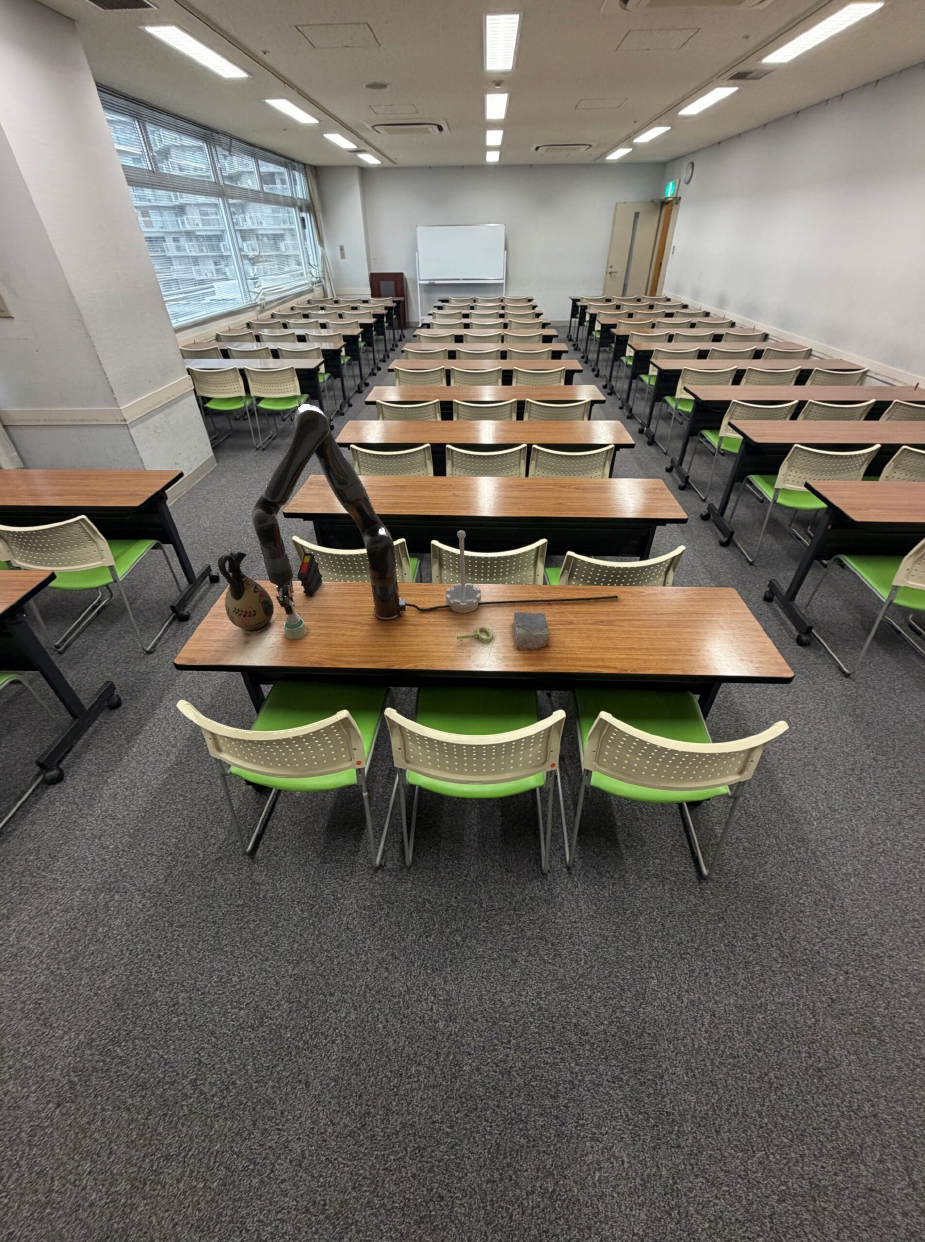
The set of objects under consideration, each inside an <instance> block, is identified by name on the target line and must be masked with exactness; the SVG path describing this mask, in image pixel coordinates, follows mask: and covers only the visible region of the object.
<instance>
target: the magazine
mask: <svg viewBox="0 0 925 1242" xmlns="http://www.w3.org/2000/svg"><path fill="white" fill-rule="evenodd" d="M315 556H316V555H315V554H314V553H311V552H304V553H303V556H302V559H301V563H300V566H299V569H298V571H297V579H296V580H298V581H300V582H301V583H300V586H301V587H303V591H302V593H303V594H304V595H305V596H306V597H314V595H316V592H317V591H318V589H319V588H320V586H321V585H322V583H323V580H322V579H323V574H322V573H321V572H320V568H319V565H320V564H319V562H317V560H316V559H315V558H316V557H315Z"/></svg>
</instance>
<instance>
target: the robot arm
mask: <svg viewBox="0 0 925 1242" xmlns="http://www.w3.org/2000/svg"><path fill="white" fill-rule="evenodd" d="M293 424H294V427H295V430H294V434H293V437H292V440H291V443H290V445H289V447H288V449H287V450H286V453H285V455H284V457H283V458H282V459H281V460H280V462H279V463H278V464H277V466H276V468H275V469H274V470H273V472H272V474H271V476H270V478H269V480H268V482H267V483H266V486H265V488H264V491H263V493H262V494H261V495H260V497H258V499H257V501H256V503H255V504H254V506H253V508H252V511H251V520H252V526H253V529H254V532H255V535H256V536H257V540H258V541H259V547H260V550H261V554H262V557H263V562H264V566H265V570H266V574H267V577H268V581H269V582H270V583H271V584H272V585H276V587H275V588H276V591H277V593H278V595H276V596H275V599H276V600H277V602H278V604H279V606H280V608H283V609H284V612H285V615H286V616H287V615H290V614H293V610H292V607H291V603H290V600H291V601H292V602H293V603H294V605H293V606H294V608H296V607H295V606H296V605H295V604H296V603H295V601H294V594H295V593H294V586H293V578H294V573H293V569H292V566H291V562H290V558H289V555H288V553H287V549H286V547H285V542H284V540H283V537H282V533H281V530H280V529H281V528H280V525H279V519H278V517H277V516H278V514H279V512H280V510H281V509H282V507H283V506H285V505H286V504H287V503H288V501H289V500H290V498H291V496H292V494H293V492H294V490H295V488H296V486H297V484H298V482H299V480H300V478H301V476H302V473H303V472H304V470H305V468H306V466H307V465H308V463H309V461H310V460H311V459H312V457H313V455H315V457H316V459H317V462H318V463H319V466H320V468H321V470H322V473H323V475H324V478H325V479H326V481H327V484H328V485H329V487H330V489H331V491H332V493H333V494H334V496H335V499H337V501H338V502H339V504H340V505H341V507H342V508H343V509H344V511H346V513H348V515H349V516H350V517H351V518H352V519H353V521H354V522H355V524H356V526H357V528H358V530H359V532H360V535H361V537H362V540H363V543H364V547H365V550H366V556H367V564H368V573H369V580H370V586H371V593H372V600H373V605H374V607H373V611H374V614H375V617H376V618H377V619H378V620H381V621H391V620H394V619H397V618H399V617H400V618H401V617H402V612H406V610H407V607H410V608H415V610H417V611H419V612H429V611H434V610H438V609H447V608H450V605H449V604H443V605H436V606H432V607H426V608H421V607H419V606H418V605H416V604H413V603H407V601H406V598H405V597H403V598H401V596H400V588H399V583H398V575H397V560H396V550H395V549H396V548H395V543H394V540H393V537H392V535H391V533H390V531H389V530H388V529H387V527H386V526H385V525H384V523H383V522H382V520H381V519H380V517H379V516H378V514H377V513H376V511H375V509H374V507H373V504H372V501H371V499H370V496H369V494H368V492H367V489H366V488H365V485H364V484H363V482H362V480H361V478H360V477H359V475H358V473H357V472H356V469H355V468H354V466H353V465H352V463H351V462H350V460H349V459H348V458H347V456H346V455H345V453H344V452H343V450H342V449H341V448H340V446H339V445H338V443H337V441H336V438H335V437H334V434H333V432H332V430H331V428H330V421H329V419H328V417H327V416H326V413H324V411H323V410H322V409H321V408H320V407H318V406H315V405H313V404H302V405H301V406H300V407H298V408H297V410H296V412H295V413H294V417H293ZM618 598H619V596H618V595H608V596H605V595H604V596H595V597H594V596H591V597H575V598H573V597H572V598H549V599H547V598H545V599H517V600H497V601H479V603H478V606H484V605H502V604H526V603H527V604H528V603H554V602H555V603H556V602H557V603H558V602H579V601H597V600H598V601H599V600H612V599H618ZM287 600H288V601H287Z"/></svg>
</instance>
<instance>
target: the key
mask: <svg viewBox="0 0 925 1242" xmlns="http://www.w3.org/2000/svg"><path fill="white" fill-rule="evenodd" d="M481 631H484V632H485V633H487V634H488V636H489V637H484V636H483V635H481V633H480V632H481ZM473 638H475V639H477V638H478V639H479V640H480V641H482V642H485V643H487V642H491V641H492V639H493V634H492V631H491V630H490V629H488V628H487V627H484V626H480V627H478V628H477V630H476V632H474V633H470V634H469V633H468V634H460V635H456V639H457V640H458V641H459V642H464V639H473Z"/></svg>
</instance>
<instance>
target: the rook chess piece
mask: <svg viewBox="0 0 925 1242" xmlns="http://www.w3.org/2000/svg"><path fill="white" fill-rule="evenodd" d="M287 601H288V600H287ZM290 603H291V607H292V610H293V614H290V615H287V614H286V621H287V623H289V624H291V625H293V624H297V623H298V622H299V621H300V618H301V617H300V615H299V614H298V613H297V612H296V610H295V607H294V606H293V605H294V604H295V602H294V603H293V602H292V601H291V600H290Z"/></svg>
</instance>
